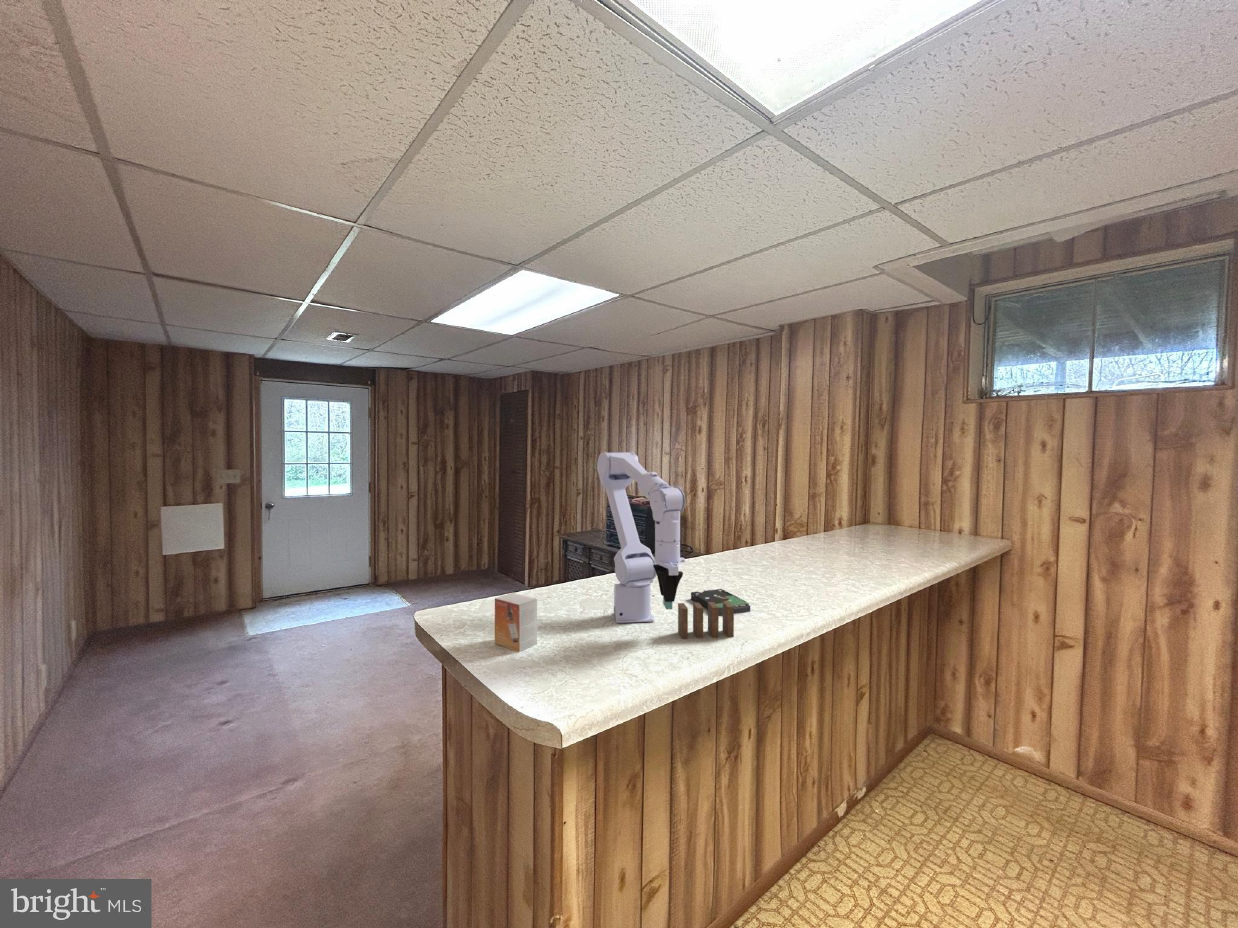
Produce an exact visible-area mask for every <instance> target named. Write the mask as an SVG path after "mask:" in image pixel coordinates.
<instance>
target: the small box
mask: <svg viewBox="0 0 1238 928" xmlns="http://www.w3.org/2000/svg"><path fill="white" fill-rule="evenodd" d="M494 644H496V645H499V646H501V645H502V646H501V647H503V648H507V649H509V650H512V651H515V652H517V653H520V652H523V651H525V650H527V649H529V648H531V647H534V646H536V645H537V644H538V598H536V597H531V596H526V595H523V594H519V593H515V592H510V593H507V594H504V595H501V596H497V597H495V598H494ZM535 644H536V645H535ZM533 645H534V646H533Z"/></svg>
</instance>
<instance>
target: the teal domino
mask: <svg viewBox="0 0 1238 928" xmlns="http://www.w3.org/2000/svg"><path fill="white" fill-rule="evenodd" d="M662 598H663V599H662V604H663V606H664V608H665V610H673V602H665V600H664V596H662Z"/></svg>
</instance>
